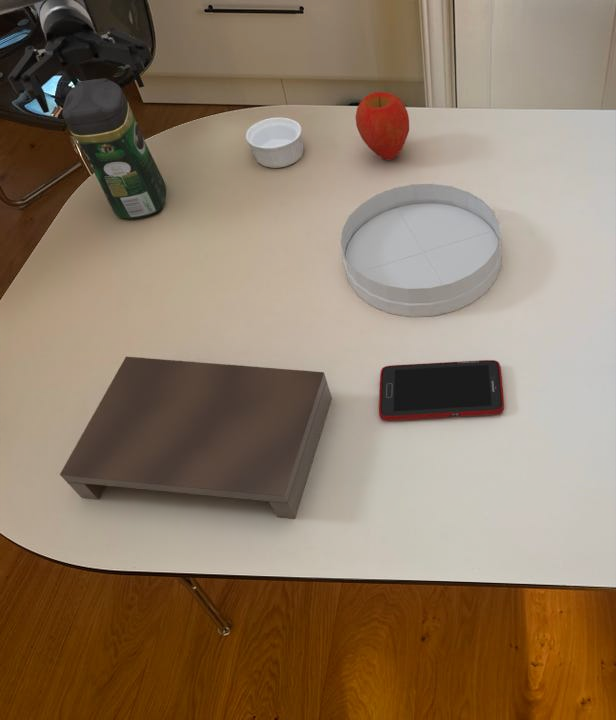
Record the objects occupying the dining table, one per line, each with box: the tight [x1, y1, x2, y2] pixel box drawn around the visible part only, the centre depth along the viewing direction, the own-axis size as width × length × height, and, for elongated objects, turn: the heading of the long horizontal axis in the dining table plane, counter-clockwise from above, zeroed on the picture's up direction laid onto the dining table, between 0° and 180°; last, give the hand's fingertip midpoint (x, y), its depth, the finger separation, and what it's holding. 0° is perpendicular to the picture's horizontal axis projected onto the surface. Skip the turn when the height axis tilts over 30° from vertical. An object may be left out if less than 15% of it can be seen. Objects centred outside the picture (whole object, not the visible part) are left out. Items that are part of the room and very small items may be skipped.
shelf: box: [59, 356, 333, 519], centre depth 79 cm, size 24×16×5 cm, turn 83°
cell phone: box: [378, 359, 505, 421], centre depth 84 cm, size 8×15×1 cm, turn 93°
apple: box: [355, 91, 410, 161], centre depth 112 cm, size 9×8×11 cm
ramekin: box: [245, 117, 304, 169], centre depth 115 cm, size 9×9×4 cm
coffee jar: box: [61, 78, 167, 220], centre depth 102 cm, size 10×8×19 cm
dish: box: [340, 183, 503, 318], centre depth 98 cm, size 22×22×5 cm
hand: (91, 91), depth 103 cm, fingers open, 13 cm apart
